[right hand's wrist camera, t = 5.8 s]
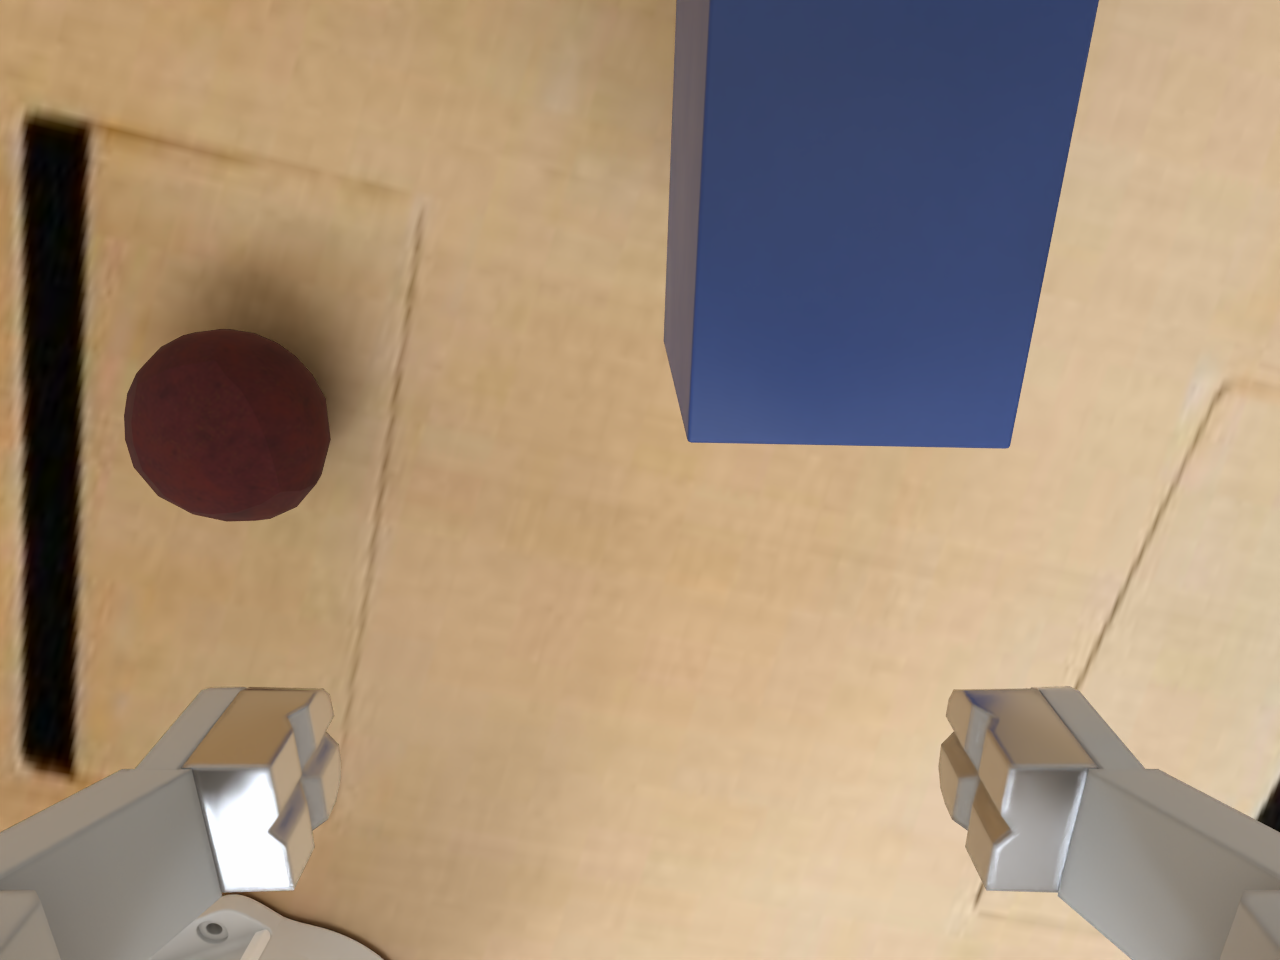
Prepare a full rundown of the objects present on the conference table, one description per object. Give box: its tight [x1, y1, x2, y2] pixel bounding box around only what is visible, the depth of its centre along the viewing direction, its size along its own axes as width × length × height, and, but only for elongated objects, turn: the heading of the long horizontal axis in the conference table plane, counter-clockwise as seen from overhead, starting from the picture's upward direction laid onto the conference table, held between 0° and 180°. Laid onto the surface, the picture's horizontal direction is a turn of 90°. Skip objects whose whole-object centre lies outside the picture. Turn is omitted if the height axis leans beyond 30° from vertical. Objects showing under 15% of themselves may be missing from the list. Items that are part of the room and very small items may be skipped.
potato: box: [124, 329, 330, 521], centre depth 32 cm, size 7×8×7 cm
